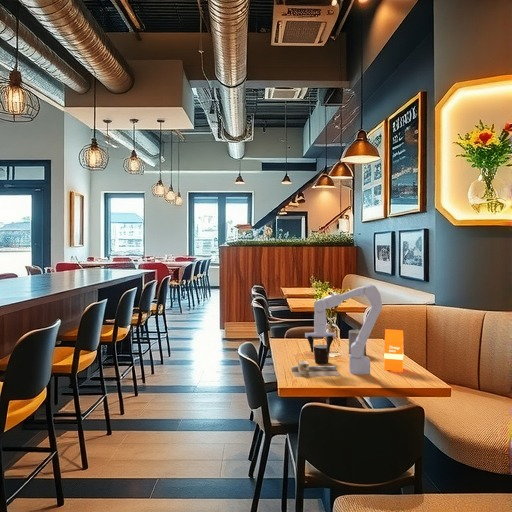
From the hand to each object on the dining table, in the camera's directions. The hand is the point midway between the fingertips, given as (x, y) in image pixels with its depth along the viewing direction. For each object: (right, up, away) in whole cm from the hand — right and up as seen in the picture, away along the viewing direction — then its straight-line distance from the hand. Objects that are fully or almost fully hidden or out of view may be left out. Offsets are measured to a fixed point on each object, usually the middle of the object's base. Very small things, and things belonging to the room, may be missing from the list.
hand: (320, 351), depth 222 cm
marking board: (-3, -10, -5) cm, 12 cm away
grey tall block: (+27, -10, +40) cm, 50 cm away
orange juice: (+39, -11, +8) cm, 41 cm away
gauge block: (-9, -9, -5) cm, 13 cm away
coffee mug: (+2, -11, +14) cm, 18 cm away
